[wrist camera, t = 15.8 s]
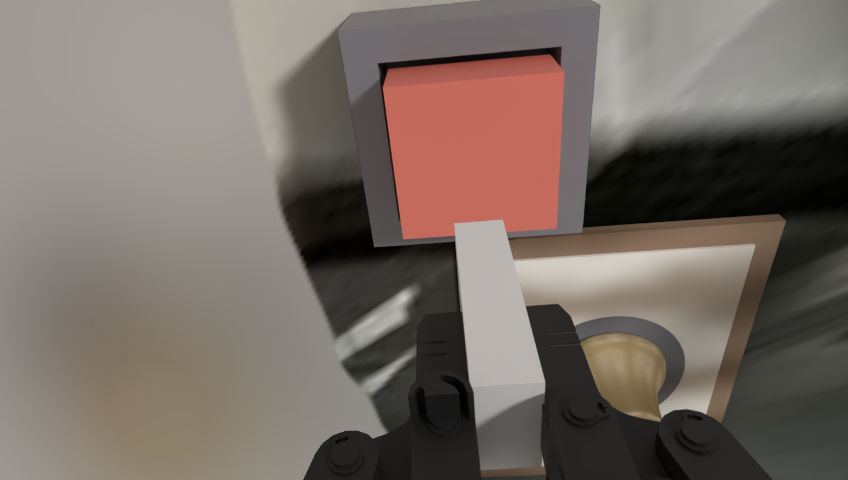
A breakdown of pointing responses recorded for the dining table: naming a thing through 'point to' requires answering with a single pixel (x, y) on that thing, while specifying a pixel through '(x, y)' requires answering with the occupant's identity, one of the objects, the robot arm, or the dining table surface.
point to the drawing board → (659, 296)
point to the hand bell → (627, 372)
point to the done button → (476, 143)
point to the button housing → (463, 42)
